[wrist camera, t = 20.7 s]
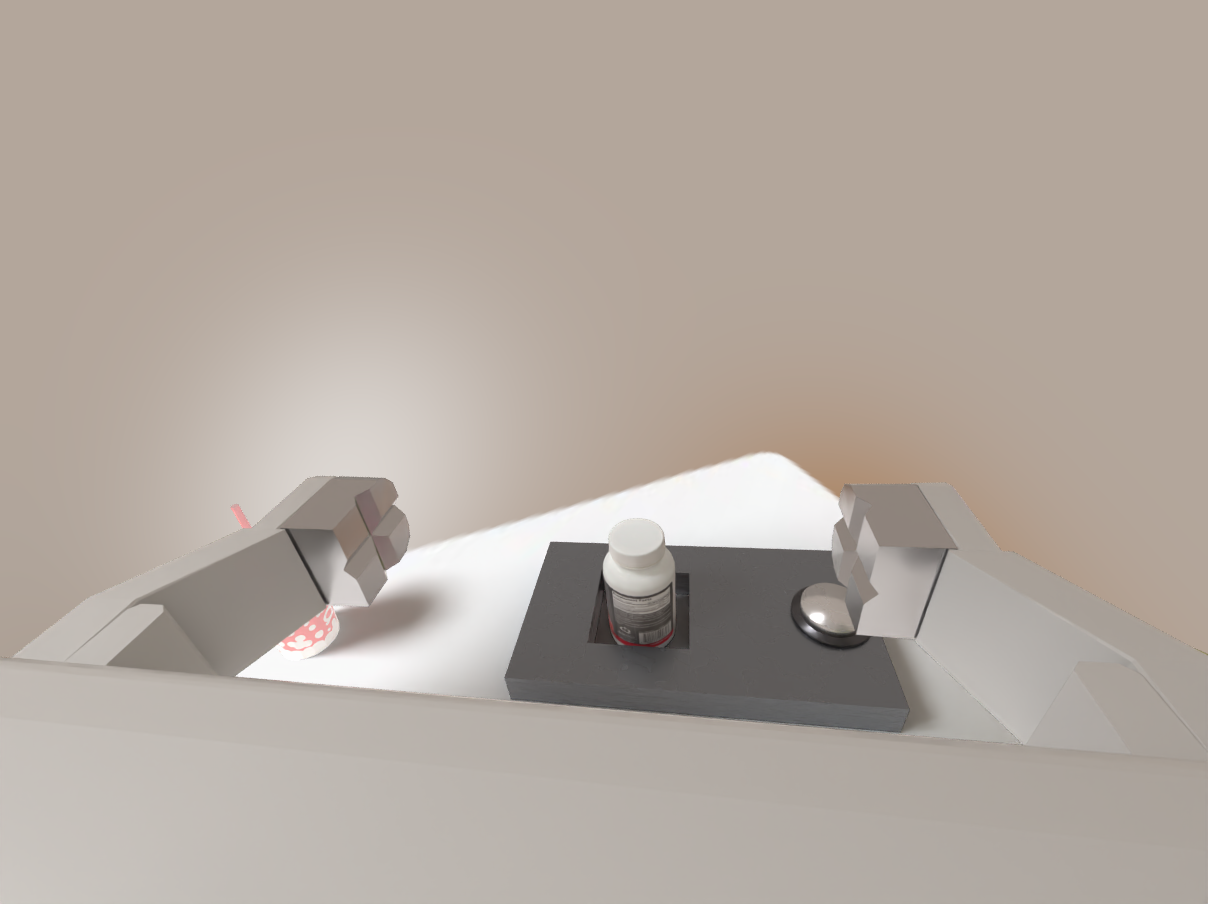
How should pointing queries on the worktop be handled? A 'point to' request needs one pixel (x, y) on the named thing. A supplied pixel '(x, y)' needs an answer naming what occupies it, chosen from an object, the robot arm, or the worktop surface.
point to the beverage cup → (312, 633)
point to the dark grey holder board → (712, 643)
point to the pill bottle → (640, 584)
